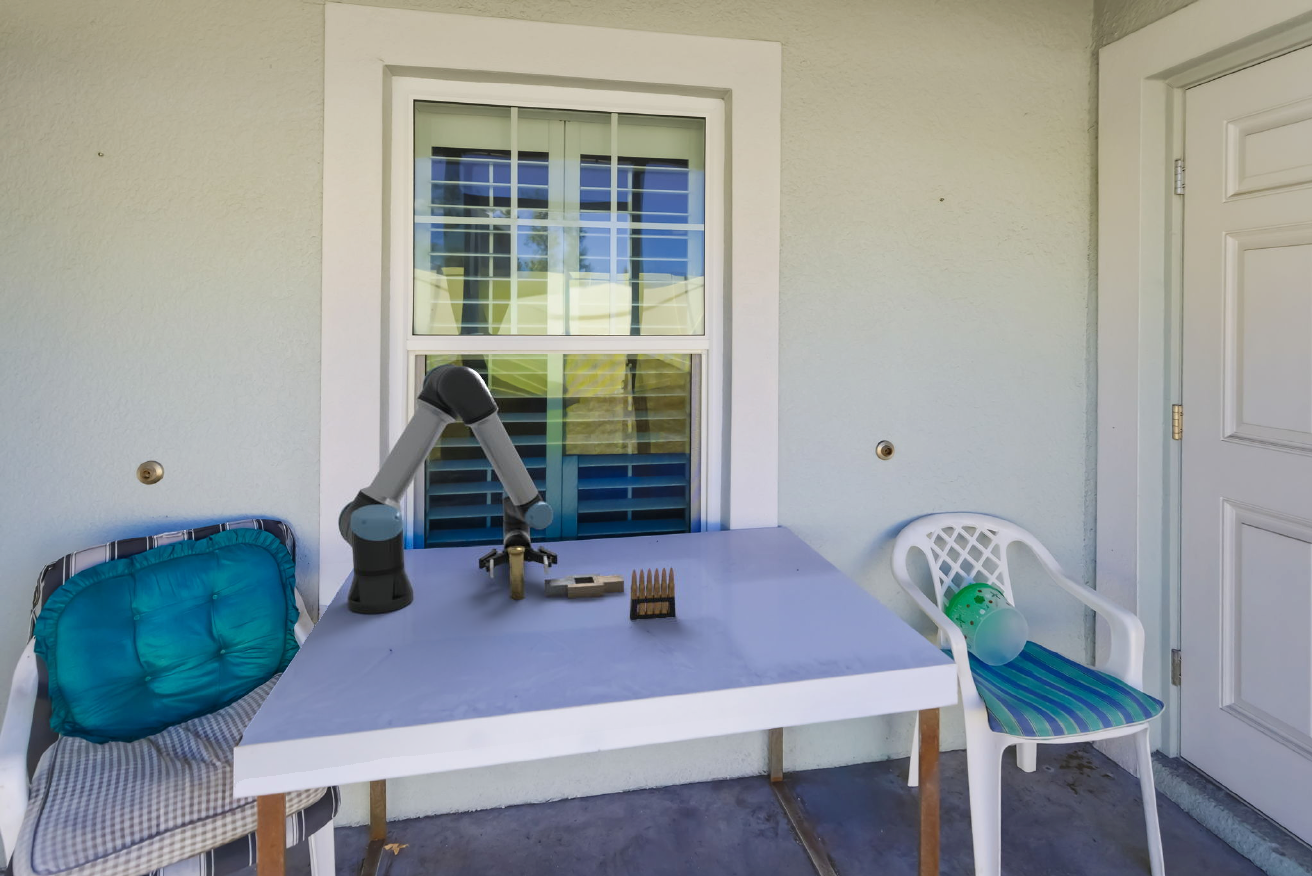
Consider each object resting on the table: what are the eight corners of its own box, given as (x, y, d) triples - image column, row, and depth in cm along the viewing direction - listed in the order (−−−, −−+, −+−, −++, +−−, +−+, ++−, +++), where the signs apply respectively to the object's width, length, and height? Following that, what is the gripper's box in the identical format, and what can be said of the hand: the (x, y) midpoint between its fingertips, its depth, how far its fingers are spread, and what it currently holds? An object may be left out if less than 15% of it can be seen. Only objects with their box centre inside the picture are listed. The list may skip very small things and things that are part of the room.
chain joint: (546, 600, 174) (545, 588, 174) (544, 588, 183) (544, 577, 182) (625, 594, 178) (625, 583, 178) (619, 583, 187) (619, 572, 187)
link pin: (508, 601, 174) (507, 551, 172) (508, 595, 178) (507, 546, 176) (526, 599, 175) (525, 550, 173) (525, 594, 179) (524, 545, 177)
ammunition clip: (674, 614, 166) (674, 565, 164) (675, 617, 164) (676, 568, 162) (629, 617, 164) (629, 568, 162) (630, 620, 162) (630, 570, 161)
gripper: (562, 556, 199) (569, 581, 179) (472, 562, 194) (468, 588, 173) (561, 531, 198) (568, 553, 178) (471, 536, 193) (467, 559, 172)
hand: (519, 571), depth 175 cm, fingers open, 13 cm apart
